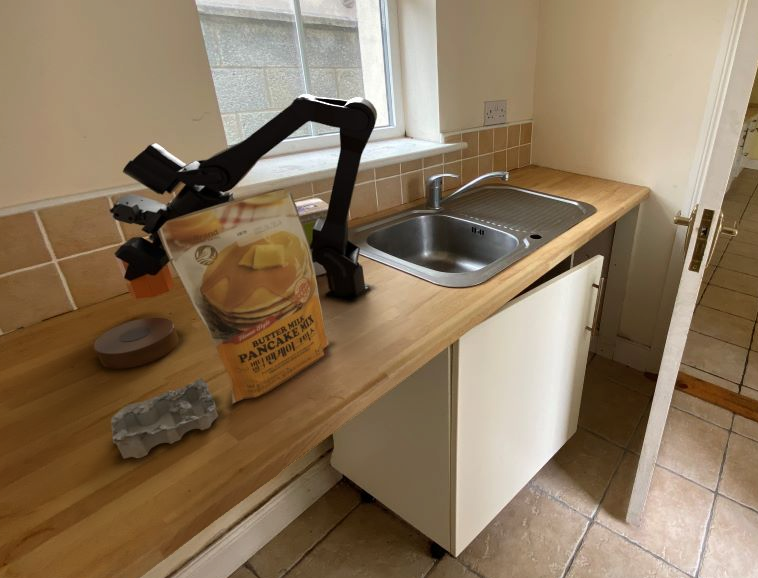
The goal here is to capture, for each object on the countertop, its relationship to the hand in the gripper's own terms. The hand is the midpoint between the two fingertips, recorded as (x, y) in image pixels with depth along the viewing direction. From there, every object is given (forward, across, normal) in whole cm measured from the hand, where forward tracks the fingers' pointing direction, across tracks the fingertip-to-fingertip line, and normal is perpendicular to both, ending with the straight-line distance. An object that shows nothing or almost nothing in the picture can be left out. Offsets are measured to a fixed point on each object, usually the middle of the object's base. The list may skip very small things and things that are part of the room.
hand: (136, 270), depth 81 cm
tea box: (-11, -12, +23) cm, 29 cm away
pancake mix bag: (-13, +23, +25) cm, 37 cm away
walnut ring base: (+3, +13, +9) cm, 16 cm away
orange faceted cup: (+2, 0, +4) cm, 4 cm away
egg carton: (-5, +33, +17) cm, 37 cm away
